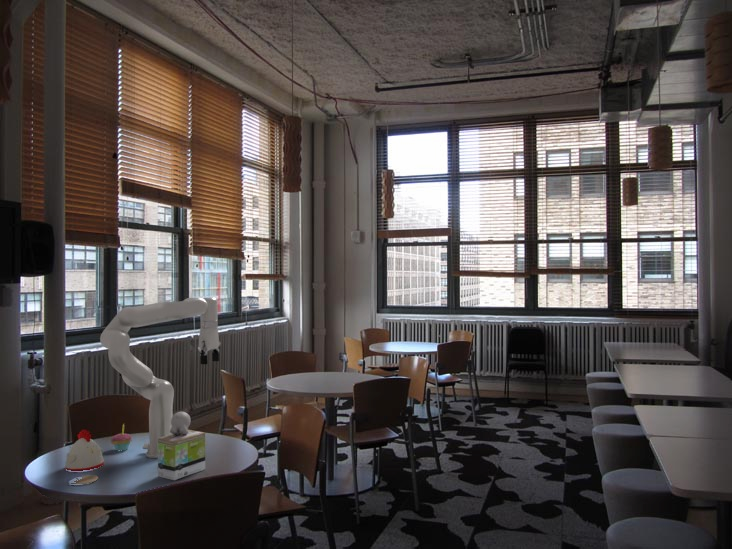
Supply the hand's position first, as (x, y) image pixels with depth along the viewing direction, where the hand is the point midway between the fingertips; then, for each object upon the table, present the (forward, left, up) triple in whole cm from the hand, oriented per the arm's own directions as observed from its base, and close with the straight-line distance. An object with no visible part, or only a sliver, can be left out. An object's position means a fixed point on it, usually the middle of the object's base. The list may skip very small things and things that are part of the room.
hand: (210, 362), depth 268 cm
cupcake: (-34, -18, -36) cm, 53 cm away
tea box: (+11, -40, -37) cm, 55 cm away
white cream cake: (-32, -42, -37) cm, 64 cm away
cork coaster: (-20, -56, -36) cm, 70 cm away
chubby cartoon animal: (+11, -38, -22) cm, 45 cm away
